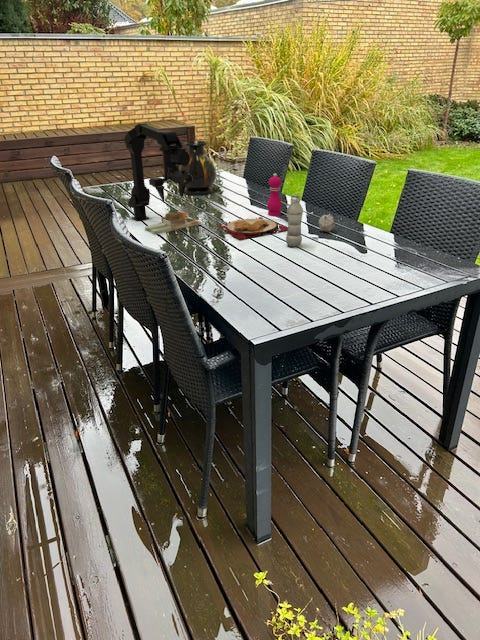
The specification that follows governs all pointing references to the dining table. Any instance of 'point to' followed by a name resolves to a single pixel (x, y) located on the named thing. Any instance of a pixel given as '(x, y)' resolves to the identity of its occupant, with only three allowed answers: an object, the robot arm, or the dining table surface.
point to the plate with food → (251, 227)
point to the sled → (181, 216)
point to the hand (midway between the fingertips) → (172, 199)
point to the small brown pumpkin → (326, 223)
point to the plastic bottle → (294, 222)
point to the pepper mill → (274, 196)
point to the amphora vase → (199, 169)
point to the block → (172, 216)
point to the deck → (174, 225)
